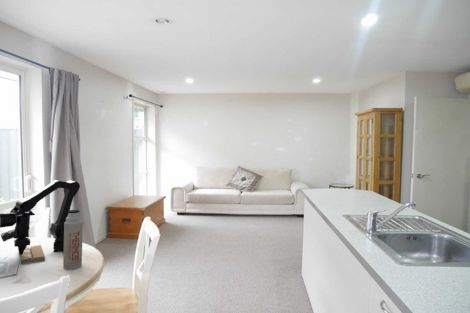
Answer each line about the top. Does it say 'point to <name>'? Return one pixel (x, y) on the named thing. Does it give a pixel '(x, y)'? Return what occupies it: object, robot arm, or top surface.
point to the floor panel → (35, 255)
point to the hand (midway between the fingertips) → (20, 254)
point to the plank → (26, 255)
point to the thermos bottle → (73, 241)
